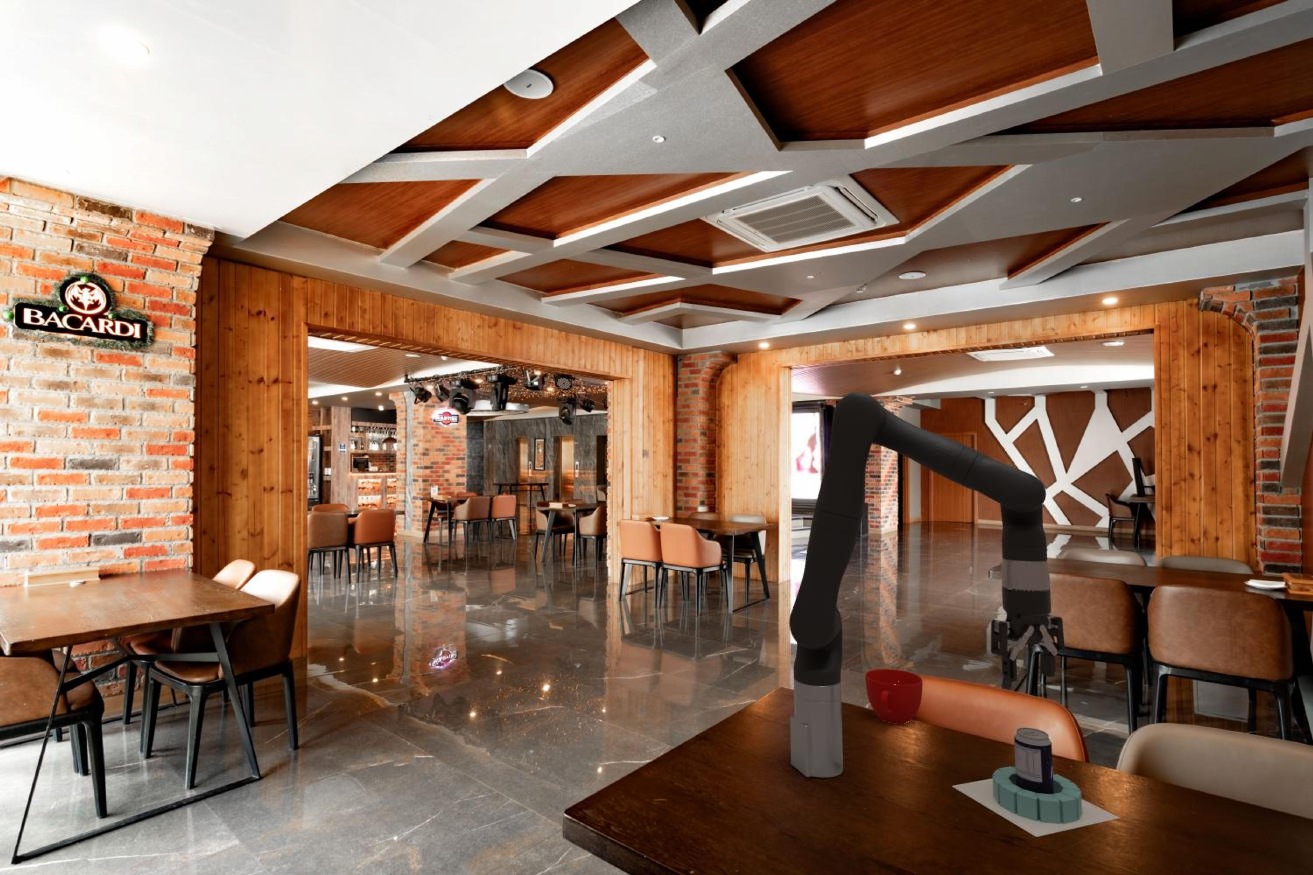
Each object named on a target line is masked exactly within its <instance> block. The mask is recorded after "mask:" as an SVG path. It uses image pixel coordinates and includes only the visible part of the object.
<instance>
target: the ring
mask: <svg viewBox="0 0 1313 875" xmlns="http://www.w3.org/2000/svg"><path fill="white" fill-rule="evenodd" d="M992 778H993V797H994V798H995V800H996V801H997V803H998V804H1000V806H1001V807H1003V808H1005V809H1007V810H1008V811H1010V812H1012V813H1013V814H1016V813H1017V814H1018V816H1021V817H1024V818H1028V819H1031V820H1034V821H1038V819H1039V820H1040V821H1041V822H1045V823H1055V824H1061V823H1063V824H1066V823H1070V822H1075V821H1077V820H1079V819H1080V817H1081V815H1082V791H1081V789H1080V788H1079V787H1078V785H1076V783H1075V782H1073V781H1072V780H1069V778H1066V777H1064V776H1061V775H1059V774H1058V773H1055V774H1054V773H1053V785H1054V794H1041V793H1035V792H1031V791H1028V790H1024V789H1022V788H1020V787H1018V786H1016V771H1015V765H1014V766H1005V767H999V768H998V769H996V770H995V771H993V773H992Z"/></svg>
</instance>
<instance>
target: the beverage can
mask: <svg viewBox="0 0 1313 875" xmlns="http://www.w3.org/2000/svg"><path fill="white" fill-rule="evenodd" d="M1015 731H1016V733H1015V735H1014V737H1013V744H1014V763H1015V764H1014V766H1015V771H1016V786H1018V787H1020V788H1022V789H1024V790H1028V791H1031V792H1035V793H1041V794H1054V785H1053V775H1054V768H1053V745H1052V741H1051V740H1050V738H1049V737H1050V736H1049V734H1048V733H1047V732H1046V731H1044V730H1041V729H1038V728H1032V727H1018V728H1017V729H1016V730H1015Z"/></svg>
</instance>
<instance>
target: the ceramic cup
mask: <svg viewBox="0 0 1313 875" xmlns="http://www.w3.org/2000/svg"><path fill="white" fill-rule="evenodd" d="M864 677H865V678H864V680H865V689H866V695H867V698H868V701H869V704H870V706H871V708H872V710H873V711H874V712H875V714H876V715H877V717H879V718H881V719H882V721H883V720H884V721H883V722H885V721H886V722H885V723H887V722H891V723H897V724H896V725H905V724H904V723H906V722H908V721H909V722H910V721H911V720H912V719H914V717H915V716H916V714H917V713H918V711H919V709H920V707H921V704H922V699H923V698H922V697H923V686H924V685H923V682H924V681H923V678H922V677H921V676H920V675H918V674H916V673H914V672H910V671H905V670H900V669H893V668H891V669H890V668H882V669H881V668H880V669H877V668H876V669H871V670H868V671H866V672H865V674H864ZM898 681H899V682H898ZM894 684H896V685H894ZM881 719H880V720H881ZM891 723H890V724H891ZM906 724H907V723H906Z"/></svg>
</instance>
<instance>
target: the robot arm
mask: <svg viewBox="0 0 1313 875" xmlns="http://www.w3.org/2000/svg"><path fill="white" fill-rule="evenodd" d="M831 424H832V426H831V435H830V445H829V452H828V457H827V458H828V459H827V462H826V466H825V469H824V472H823V475H822V478H821V483H820V486H819V489H818V490H819V491H818V495H817V499H816V501H815V505H814V510H813V516H812V519H811V525H810V530H809V538H808V543H807V547H806V548H807V549H806V554H805V563H804V569H803V574H802V578H801V581H800V585H799V588H798V592H797V594H796V597H795V600H794V603H793V606H792V609H791V612H790V615H789V618H788V619H789V620H788V621H789V622H788V624H789V625H788V626H789V630H790V633H791V634H790V635H792V638H793V639H794V641H795V642H796V652H795V659H794V662H793V710H794V711H793V712H794V713H793V714H794V715H791V716H790V717H789V718H790V719H789V720H790V725H789V726H790V730H789V731H790V765H791V766H793V768H795V769H797V770H798V771H799V772H800V773H801V774H803V775H804V776H805V777H807V778H809V777H814V778H815V777H816V778H832V777H833V778H834V777H837V776H839V775H841V774H842V773H843V771H844V756H843V754H844V753H843V720H842V717H843V715H842V710H843V709H842V678H841V677H842V674H841V673H842V665H843V621H842V620H843V619H842V615H841V612H840V610H839V608H838V606H837V605H838V598H839V591H840V588H841V587H840V586H841V583H842V580H843V578H844V575H845V572H846V570H847V569H848V566H849V563H850V561H851V558H852V556H853V552H854V550H855V546H856V545H857V541H858V537H859V534H860V529H861V524H862V519H863V516H864V515H863V514H864V508H865V507H864V506H865V493H866V492H865V489H866V488H865V487H866V485H865V484H866V469H867V463H868V458H869V455H870V452H871V449H872V444H873V445H877V446H879V447H884V448H886V449H888V450H890V451H893V452H896V453H897V454H900V455H902V456H904V457H906V458H909V459H910V460H912V461H914V462H916V463H918V464H919V465H921V466H922V467H925V468H926V469H928V470H930V472H933V473H935V474H936V475H939V476H941V477H943V478H945V479H947V480H949V481H951V482H953V483H956V484H958V485H960V486H962V487H964V488H966V489H969V490H972V491H975V492H978V493H979V494H982V495H983V496H985V497H987V498H988V499H991V500H993V501H994V502H997V503H998V504H999V505H1000V506H999V508H1000V514H1001V522H1002V523H1001V524H1002V531H1001V532H1002V533H1001V558H1002V559H1001V560H1002V561H1001V573H1000V574H1001V598H1002V609H1003V610H1004V611H1005V613H1006V618H1005V620H999V619H998V620H997V619H992V620H991V621H990V652H991V654H992V655H995V656H998V657H1000V658H1001V673H1002V677H1003V678H1004V680H1006V681H1008V682H1010V683H1014V682H1015V683H1016V682H1017V681H1018V669H1017V668H1018V665H1017V660H1016V659H1017V656H1018V654H1019V652H1020V651H1022V650H1024V648H1025V646H1030V645H1032V644H1035V645H1037V647H1038V648H1039V651H1040V656H1039V657H1040V673H1041V675H1042V676H1046V677H1048V678H1053V677H1055V676H1056V656H1057V654H1058V652H1063V651H1065V649H1066V645H1065V634H1064V632H1065V631H1064V622H1063V618H1062V617H1061V616H1057V615H1051V613H1052V598H1051V578H1050V576H1051V574H1050V568H1049V563H1048V546H1047V545H1048V543H1047V535H1046V533H1045V532H1046V531H1045V529H1044V516H1043V515H1044V508H1043V504H1044V503H1045V500H1046V498H1047V490H1046V487H1045V484H1044V483H1043V482H1042V480H1041V479H1040V478H1038V477H1037V476H1036V475H1033V474H1031V473H1029V472H1026V471H1024V470H1022V469H1019V468H1016V467H1014V466H1011V465H1009V464H1006V463H1004V462H1000V461H998V460H995V459H994V458H992V457H990V456H989V455H987V454H985V453H983V452H981V451H979V450H977V449H974V448H972V447H970V446H967V445H965V444H964V443H960V442H958V441H956V440H954V439H951V438H949V437H946V436H943V435H940V434H939V433H935V432H932V431H929V430H926V429H924V428H921V427H918V426H917V425H915V424H912V423H910V422H908V421H906V420H905V419H903V418H901V417H899V416H897V415H896V414H895V413H893V412H891V411H890V410H888V408H886V407H884V406H883V405H882V404H881V403H880V402H879V401H878V400H877V399H876V398H875V397H873V396H872V395H870V394H868V393H866V392H862V391H861V392H860V391H855V392H850V393H848V394H846V395H845V396H843V397H842V398H841V399H840V400H839V401H838V402H837V404H836V406H835V407H834V411H833V416H832V423H831ZM1055 638H1056V640H1055ZM1013 640H1014V641H1013ZM1009 650H1010V651H1009Z"/></svg>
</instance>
